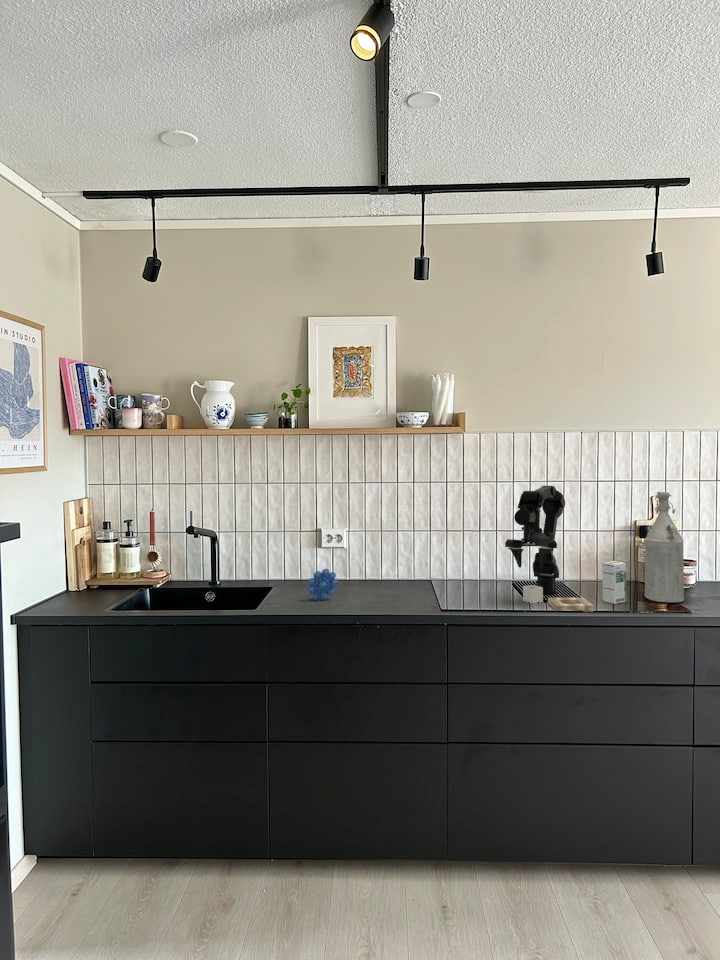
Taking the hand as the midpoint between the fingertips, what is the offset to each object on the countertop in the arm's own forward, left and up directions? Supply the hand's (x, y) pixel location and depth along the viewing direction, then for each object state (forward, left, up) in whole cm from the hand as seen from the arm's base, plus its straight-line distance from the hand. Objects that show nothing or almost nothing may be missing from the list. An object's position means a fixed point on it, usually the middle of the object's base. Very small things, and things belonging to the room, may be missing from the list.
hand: (530, 567), depth 232 cm
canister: (-46, +18, -13) cm, 51 cm away
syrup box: (-27, +13, -13) cm, 32 cm away
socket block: (-7, +13, -13) cm, 19 cm away
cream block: (-1, 0, -13) cm, 13 cm away
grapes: (+68, -37, -13) cm, 79 cm away
